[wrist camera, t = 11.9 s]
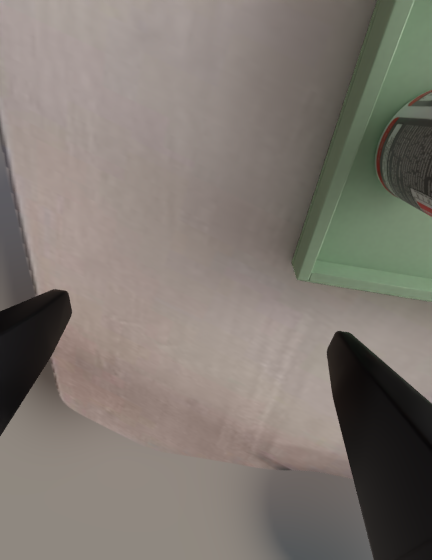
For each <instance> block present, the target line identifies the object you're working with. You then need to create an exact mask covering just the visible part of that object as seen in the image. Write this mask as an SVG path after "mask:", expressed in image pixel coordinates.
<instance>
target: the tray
mask: <svg viewBox="0 0 432 560" xmlns="http://www.w3.org/2000/svg"><path fill="white" fill-rule="evenodd" d="M429 90H432V0H377V2H376V5H375V8H374V12H373V15H372V18H371V21H370V24H369V27H368V30H367V33H366V36H365V39H364V42H363V45H362V48H361V51H360V54H359V57H358V60H357V64H356V67H355V70H354V73H353V76H352V79H351V82H350V85H349V88H348V91H347V94H346V97H345V100H344V103H343V106H342V109H341V113H340V116H339V119H338V122H337V125H336V128H335V131H334V134H333V137H332V140H331V143H330V146H329V149H328V152H327V155H326V158H325V162H324V165H323V168H322V171H321V174H320V177H319V180H318V183H317V186H316V189H315V192H314V195H313V198H312V201H311V204H310V207H309V211H308V214H307V217H306V220H305V223H304V226H303V229H302V232H301V235H300V238H299V241H298V244H297V247H296V250H295V253H294V256H293V259H292V265H293V269H294V272H295V275H296V278H297V280H300V281H307V282H312V283H318V284H324V285H330V286H337V287H343V288H349V289H355V290H361V291H367V292H374V293H380V294H386V295H392V296H398V297H404V298H411V299H417V300H423V301H429V302H432V217H430V216H429V215H427V214H425V213H424V212H422V211H420V210H418V209H417V208H415V207H413V206H411V205H410V204H408V203H406V202H405V201H403V200H401V199H399V198H397V197H395V196H394V195H392V194H391V193H390V192H389V191H387V190H386V189H385V188H384V187H383V185H382V184H381V183H380V181H379V179H378V176H377V173H376V169H375V154H376V149H377V145H378V142H379V140H380V137H381V135H382V133H383V131H384V129H385V128H386V126H387V125H388V123H389V122H390V120H391V119H392V118H393V117H394V116H395V115H396V113H397V112H398V111H399V110H400V109H401V108H403V107H404V106H405V105H406V104H407V103H409V102H410V101H411V100H413V99H414V98H416V97H417V96H419V95H421V94H423V93H425V92H427V91H429Z"/></svg>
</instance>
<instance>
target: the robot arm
mask: <svg viewBox="0 0 432 560" xmlns="http://www.w3.org/2000/svg"><path fill="white" fill-rule="evenodd" d="M71 314H72V309H71V304H70V298H69V294H68V292H67V291H64V290H57V289H53V290H51V291H48V292H46V293H43V294H41V295H39V296H36V297H34V298H32V299H29V300H27V301H24V302H22V303H20V304H17V305H14V306H12V307H10V308H7V309H5V310H2V311H0V436H1V434H2V433H3V431H4V430H5V428H6V426H7V425H8V423H9V422H10V420H11V419H12V417H13V416H14V414H15V412H16V411H17V409H18V408H19V406H20V405H21V403H22V401H23V400H24V398H25V396H26V395H27V394H28V392H29V390H30V389H31V387H32V386H33V384H34V383H35V381H36V379H37V378H38V376H39V375H40V373H41V372H42V370H43V369H44V367H45V365H46V364H47V362H48V360H49V359H50V357H51V356H52V354H53V352H54V350H55V348H56V346H57V344H58V342H59V340H60V338H61V336H62V334H63V332H64V330H65V328H66V326H67V324H68V321H69V319H70V317H71ZM327 359H328V366H329V373H330V381H331V388H332V395H333V400H334V404H335V408H336V412H337V416H338V420H339V424H340V428H341V432H342V436H343V440H344V444H345V448H346V452H347V456H348V460H349V463H350V467H351V471H352V475H353V479H354V483H355V487H356V491H357V495H358V499H359V503H360V507H361V511H362V515H363V519H364V523H365V527H366V531H367V535H368V539H369V542H370V547H371V550H372V554H373V558H374V560H432V403H430V402H429V401H428V400H427V399H426V398H425V397H423V396H422V395H421V394H420V393H419V392H418V391H417V390H415V389H414V388H413V387H412V386H411V385H410V384H408V383H407V382H406V381H405V380H404V379H403V378H402V377H400V376H399V375H398V374H397V373H396V372H395V371H393V370H392V369H391V368H390V367H389V366H388V365H387V364H385V363H384V362H383V361H382V360H381V359H380V358H379V357H377V356H376V355H375V354H374V353H373V352H372V351H370V350H369V349H368V348H367V347H366V346H365V345H364V344H362V343H361V342H360V341H359V340H358V339H357V338H355V337H354V336H353V335H352V334H351V333H349V332H342V331H337V332H336V333H335V334H334V336H333V338H332V340H331V342H330V345H329V347H328V349H327Z"/></svg>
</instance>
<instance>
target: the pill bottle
mask: <svg viewBox="0 0 432 560" xmlns="http://www.w3.org/2000/svg"><path fill="white" fill-rule="evenodd" d="M375 169H376V173H377V176H378V179H379V181H380V183H381V184H382V185H383V187H384V188H385V189H386V190H387V191H389V192H390V193H391V194H392V195H394V196H395V197H397V198H399V199H401V200H403V201H405V202H406V203H408V204H410V205H411V206H413V207H415V208H417V209H418V210H420V211H422V212H424V213H425V214H427V215H429V216H430V217H432V90H429V91H427V92H425V93H423V94H421V95H419V96H417V97H416V98H414V99H413V100H411V101H410V102H409V103H407V104H406V105H405V106H404V107H403V108H401V109H400V110H399V111H398V112H397V113H396V115H395V116H394V117H393V118H392V119H391V120H390V122H389V123H388V125H387V126H386V128H385V129H384V131H383V133H382V135H381V137H380V140H379V142H378V145H377V149H376V154H375Z"/></svg>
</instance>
